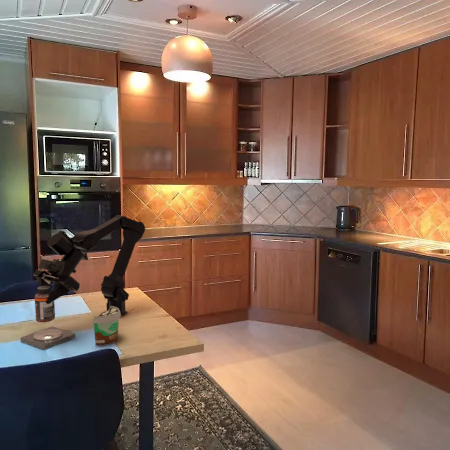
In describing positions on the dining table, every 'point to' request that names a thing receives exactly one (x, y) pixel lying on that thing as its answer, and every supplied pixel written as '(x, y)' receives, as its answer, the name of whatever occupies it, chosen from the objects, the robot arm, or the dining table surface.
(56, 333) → the plate
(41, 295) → the supplement bottle
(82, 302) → the dining table surface
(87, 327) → the dining table surface
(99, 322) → the food container
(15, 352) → the dining table surface
